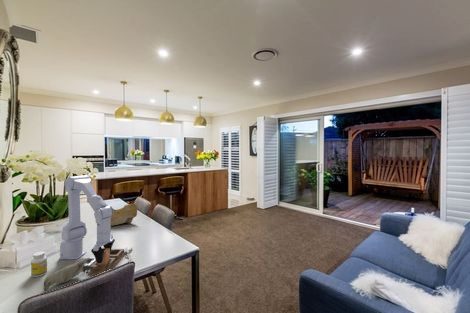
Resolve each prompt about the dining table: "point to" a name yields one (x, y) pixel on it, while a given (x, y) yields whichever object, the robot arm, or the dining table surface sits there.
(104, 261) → the peg
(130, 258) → the pliers
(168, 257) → the dining table surface
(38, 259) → the supplement bottle
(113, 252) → the rack
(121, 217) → the rough brown rock
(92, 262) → the socket
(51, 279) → the decorative bird
